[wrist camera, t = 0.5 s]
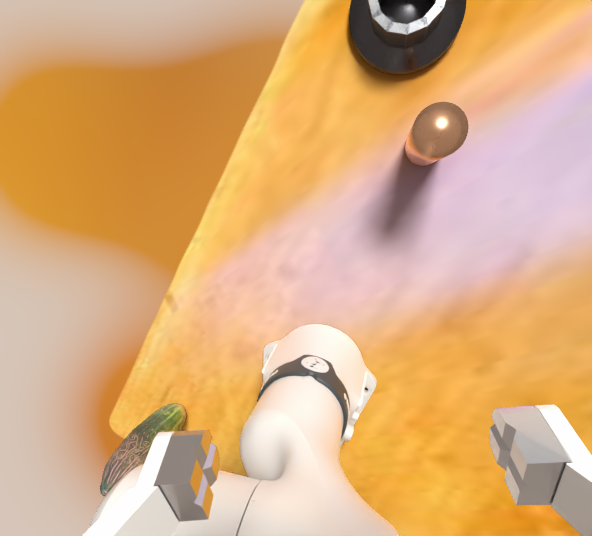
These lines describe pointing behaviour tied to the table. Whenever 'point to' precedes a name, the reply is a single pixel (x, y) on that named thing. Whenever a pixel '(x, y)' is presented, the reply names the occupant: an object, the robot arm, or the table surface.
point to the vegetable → (141, 443)
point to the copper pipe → (436, 133)
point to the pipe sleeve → (404, 32)
